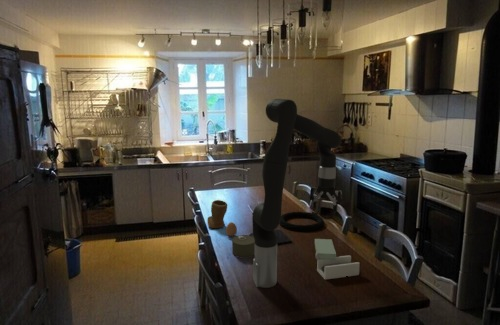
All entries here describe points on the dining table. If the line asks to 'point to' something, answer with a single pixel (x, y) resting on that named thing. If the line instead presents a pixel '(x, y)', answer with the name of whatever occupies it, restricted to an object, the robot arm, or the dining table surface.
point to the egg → (231, 229)
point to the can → (243, 246)
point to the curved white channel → (337, 267)
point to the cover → (324, 249)
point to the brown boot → (217, 214)
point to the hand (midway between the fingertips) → (324, 211)
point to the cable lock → (302, 227)
